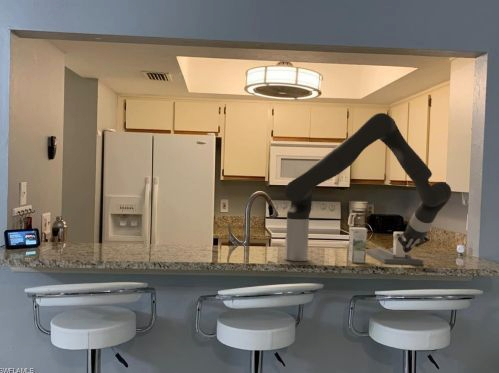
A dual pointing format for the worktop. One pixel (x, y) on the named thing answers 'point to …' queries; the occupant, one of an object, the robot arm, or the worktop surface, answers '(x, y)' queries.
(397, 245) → the handle
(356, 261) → the syrup box
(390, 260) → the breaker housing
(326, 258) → the worktop surface
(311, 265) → the worktop surface
